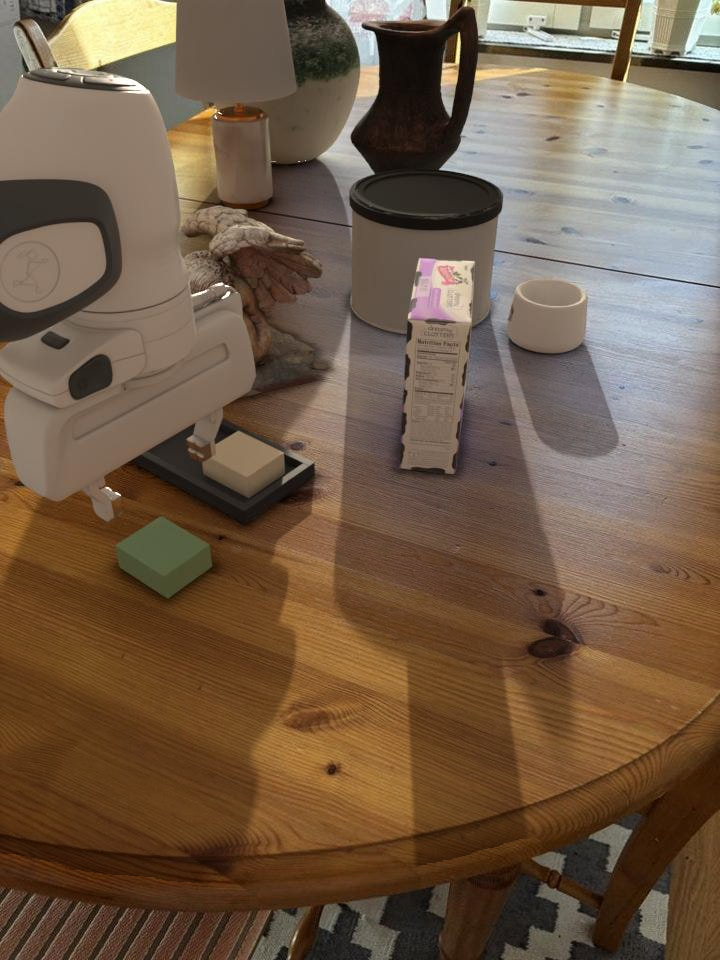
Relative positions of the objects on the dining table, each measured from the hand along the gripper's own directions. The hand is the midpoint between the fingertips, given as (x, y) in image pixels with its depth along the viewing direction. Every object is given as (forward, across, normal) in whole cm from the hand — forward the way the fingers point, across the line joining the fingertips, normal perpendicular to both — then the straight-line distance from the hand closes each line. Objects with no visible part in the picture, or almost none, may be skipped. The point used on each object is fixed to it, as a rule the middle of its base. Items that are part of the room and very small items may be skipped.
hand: (158, 484), depth 67 cm
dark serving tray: (+9, -12, -7) cm, 17 cm away
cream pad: (+8, -13, -4) cm, 16 cm away
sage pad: (+9, 0, 0) cm, 9 cm away
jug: (+10, -89, -40) cm, 98 cm away
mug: (+10, -58, +3) cm, 59 cm away
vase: (+10, -93, -72) cm, 118 cm away
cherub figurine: (+9, -29, -22) cm, 38 cm away
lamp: (+9, -69, -60) cm, 92 cm away
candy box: (+9, -30, +6) cm, 32 cm away
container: (+10, -55, -14) cm, 58 cm away
